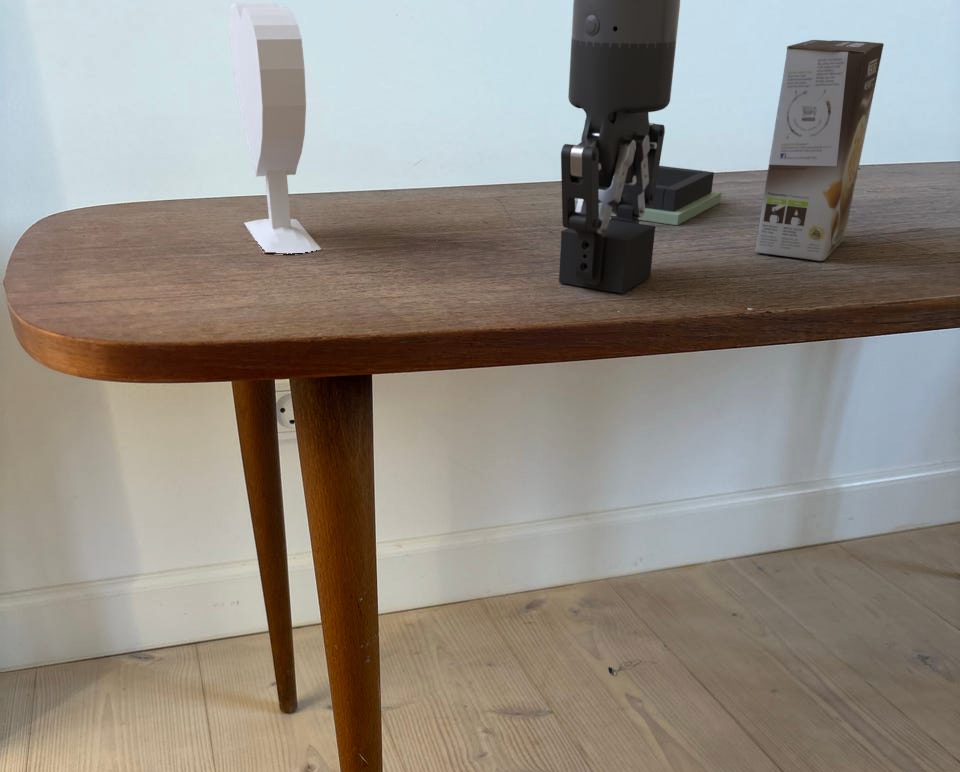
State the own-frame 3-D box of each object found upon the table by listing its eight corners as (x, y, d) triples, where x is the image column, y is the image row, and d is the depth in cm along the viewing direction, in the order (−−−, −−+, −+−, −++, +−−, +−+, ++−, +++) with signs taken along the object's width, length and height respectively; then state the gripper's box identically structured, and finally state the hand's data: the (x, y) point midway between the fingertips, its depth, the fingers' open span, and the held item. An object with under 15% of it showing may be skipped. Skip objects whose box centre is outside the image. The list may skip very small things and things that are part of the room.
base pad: (720, 202, 110) (724, 171, 108) (677, 225, 101) (681, 192, 99) (615, 188, 115) (617, 159, 113) (565, 209, 106) (567, 177, 104)
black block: (650, 277, 86) (655, 225, 84) (622, 293, 82) (627, 240, 80) (588, 266, 88) (592, 216, 86) (558, 282, 84) (561, 230, 82)
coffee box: (826, 263, 91) (867, 50, 81) (752, 253, 93) (785, 45, 84) (845, 239, 97) (885, 41, 88) (776, 231, 100) (808, 37, 91)
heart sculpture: (326, 255, 91) (310, 12, 80) (268, 259, 89) (244, 12, 79) (292, 214, 103) (274, -1, 92) (240, 218, 101) (217, -1, 91)
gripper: (631, 44, 69) (610, 304, 78) (708, 29, 79) (681, 260, 89) (530, 37, 72) (522, 288, 81) (617, 24, 82) (600, 248, 92)
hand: (605, 272), depth 85 cm, fingers closed on black block, 5 cm apart
